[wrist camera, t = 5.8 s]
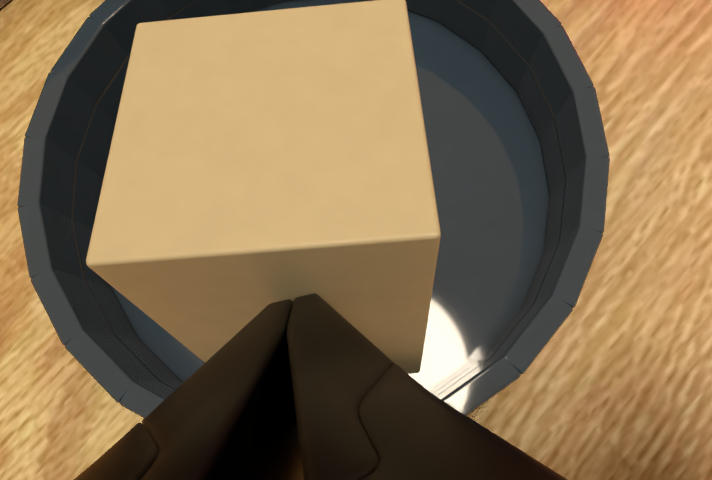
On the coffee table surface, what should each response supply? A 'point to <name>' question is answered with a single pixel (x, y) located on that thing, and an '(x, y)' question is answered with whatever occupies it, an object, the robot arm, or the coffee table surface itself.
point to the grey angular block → (3, 3)
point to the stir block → (272, 175)
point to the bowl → (450, 178)
